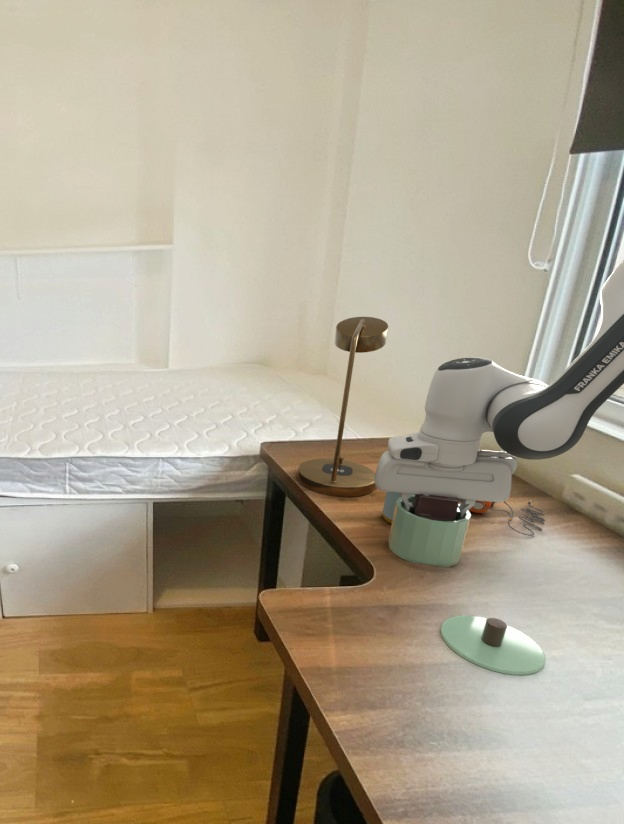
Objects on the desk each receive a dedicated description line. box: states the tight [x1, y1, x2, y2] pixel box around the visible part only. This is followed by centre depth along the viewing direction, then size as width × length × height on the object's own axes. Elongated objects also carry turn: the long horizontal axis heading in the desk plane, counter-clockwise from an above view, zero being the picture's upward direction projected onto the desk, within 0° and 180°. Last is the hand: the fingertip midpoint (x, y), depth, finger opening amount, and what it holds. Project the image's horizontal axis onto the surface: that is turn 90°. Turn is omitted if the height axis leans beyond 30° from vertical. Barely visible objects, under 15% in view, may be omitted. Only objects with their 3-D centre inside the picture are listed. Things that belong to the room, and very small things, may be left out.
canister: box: [387, 495, 472, 568], centre depth 106 cm, size 11×11×10 cm
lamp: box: [296, 316, 389, 498], centre depth 134 cm, size 17×27×38 cm, turn 146°
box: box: [414, 494, 460, 521], centre depth 104 cm, size 6×6×7 cm
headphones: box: [458, 498, 546, 537], centre depth 119 cm, size 17×5×20 cm
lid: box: [440, 615, 546, 676], centre depth 83 cm, size 12×12×5 cm
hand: (432, 515), depth 105 cm, fingers closed on box, 6 cm apart
